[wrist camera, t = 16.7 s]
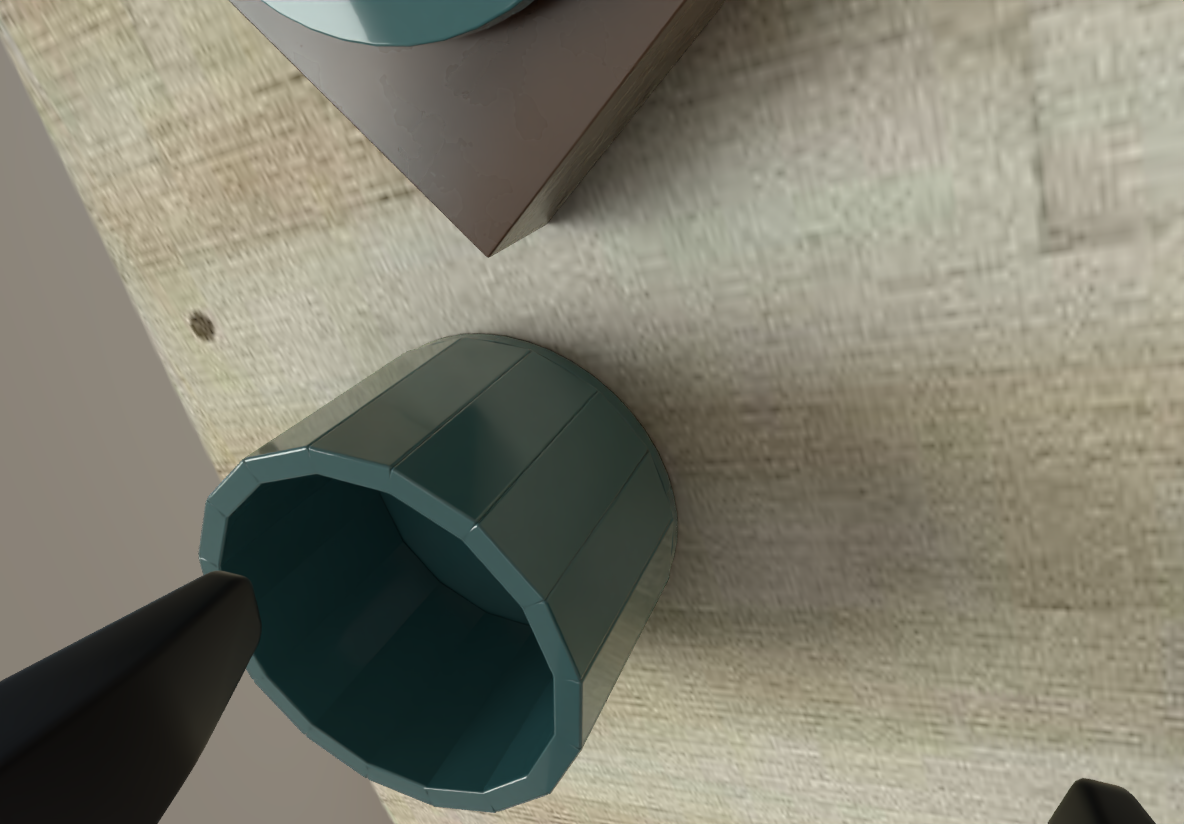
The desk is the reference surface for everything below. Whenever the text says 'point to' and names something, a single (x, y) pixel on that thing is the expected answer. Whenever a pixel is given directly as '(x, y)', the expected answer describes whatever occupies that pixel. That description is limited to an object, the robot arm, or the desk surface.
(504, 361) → the jar
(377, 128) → the board
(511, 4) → the lid
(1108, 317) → the desk surface
